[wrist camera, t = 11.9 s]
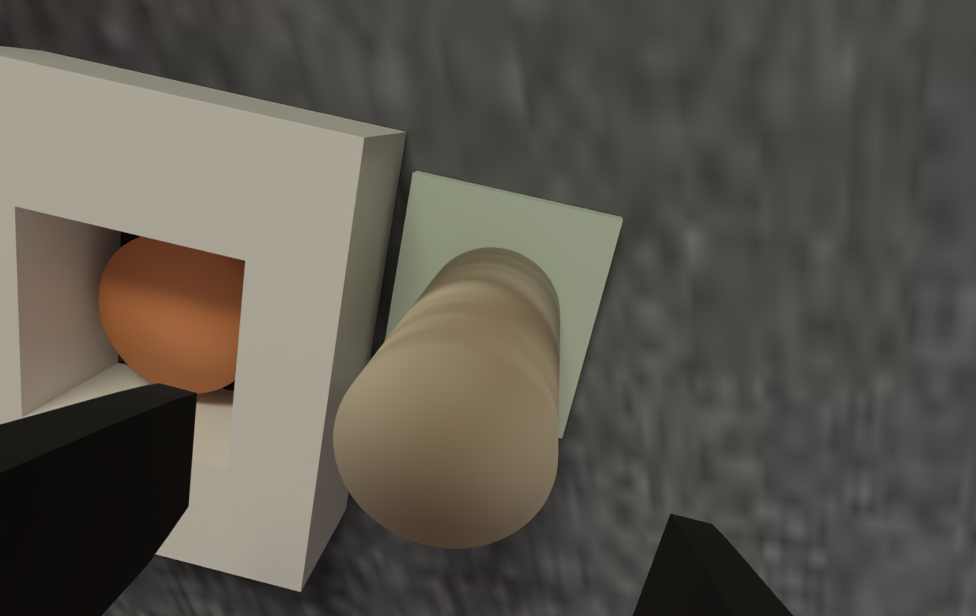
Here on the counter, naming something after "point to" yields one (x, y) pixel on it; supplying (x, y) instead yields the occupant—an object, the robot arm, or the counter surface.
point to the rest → (518, 227)
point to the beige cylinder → (459, 407)
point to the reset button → (174, 313)
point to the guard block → (212, 228)
